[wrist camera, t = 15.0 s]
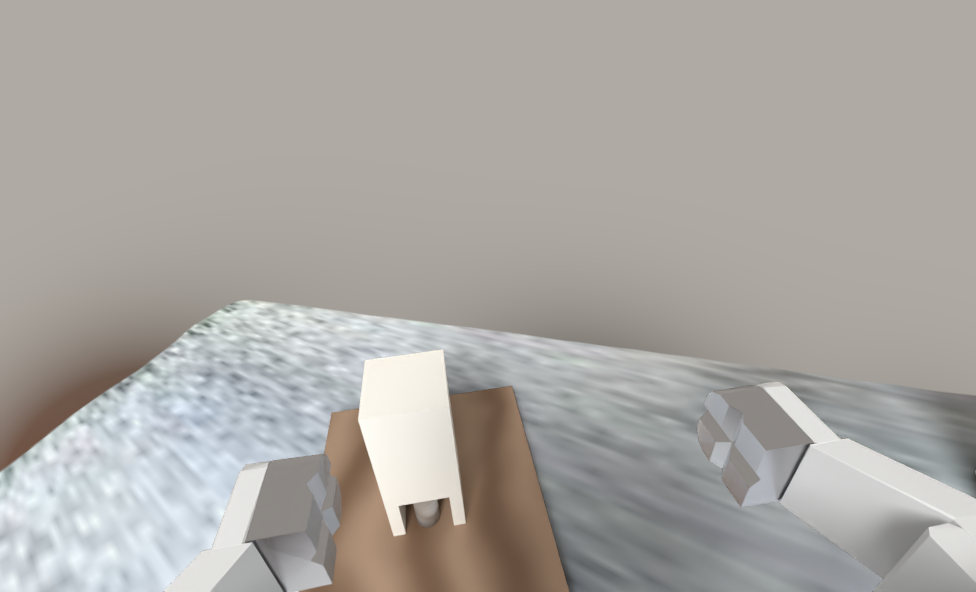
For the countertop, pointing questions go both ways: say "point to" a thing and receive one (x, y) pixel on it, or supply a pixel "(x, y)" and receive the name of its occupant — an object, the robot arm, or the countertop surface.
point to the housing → (410, 433)
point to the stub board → (448, 513)
